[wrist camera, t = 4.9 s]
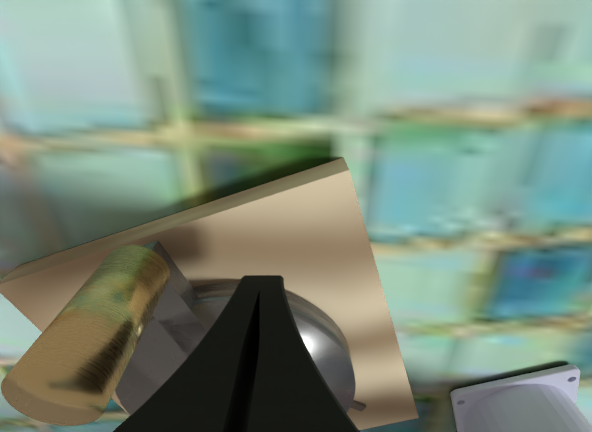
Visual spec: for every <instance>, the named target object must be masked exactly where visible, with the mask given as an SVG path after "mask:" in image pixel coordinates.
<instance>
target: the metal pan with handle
mask: <svg viewBox="0 0 592 432" xmlns="http://www.w3.org/2000/svg"><path fill="white" fill-rule="evenodd" d="M238 284H239V283H215V284H209V285H202V286H197V287H193V288H192V286H191V285H190V284H189V282H188V281H187V279H186V278H185V277H184V275H183V274H182V272H181V271H180V270H179V268H178V267H177V265H176V264H175V263H174V261H173V260H172V258H171V257H170V256H169V254H168V253H167V252H166V250H165V249H164V247H163V246H162V245H161V243H160V242H159V240H157V241H154V242H151V243H148V244H146V245H143V246H138V245H124V246H120V247H118V248H115V249H114V250H112V251H111V252H110V253H109V254H108V256H107V257H106V258H105V259H104V260H103V262H102V263H101V264H100V265H99V266H98V268H97V269H96V270H95V271H94V272H93V273H92V275H91V276H90V277H89V278H88V279H87V281H86V282H85V283H84V284H83V285H82V286H81V288H80V289H79V290H78V291H77V292H76V294H75V295H74V296H73V297H72V298H71V300H70V301H69V302H68V303H67V304H66V305H65V307H64V308H63V309H62V310H61V311H60V313H59V314H58V315H57V316H56V317H55V319H54V320H53V321H52V322H51V323H50V324H49V326H48V327H47V328H46V329H45V330H44V332H43V333H42V334H41V335H40V336H39V337H38V339H37V340H36V341H35V342H34V343H33V345H32V346H31V347H30V348H29V349H28V351H27V352H26V353H25V354H24V355H23V356H22V358H21V359H20V360H19V361H18V362H17V364H16V365H15V366H14V367H13V368H12V369H11V371H10V372H9V373H8V374H7V375H6V377H5V378H4V379H3V381H2V383H1V391H2V394H3V396H4V398H5V399H6V400H7V402H8V403H9V404H10V405H11V406H12V407H14V408H15V409H16V410H18V411H19V412H21V413H23V414H25V415H26V416H29V417H31V418H33V419H36V420H39V421H42V422H46V423H50V424H56V425H67V426H72V425H82V424H87V423H90V422H92V421H95V420H96V419H98V418H99V417H100V416H101V415H102V414H103V413H104V411H105V409H106V407H107V405H108V403H109V401H110V399H111V397H112V395H113V393H114V391H115V392H116V395H117V397H118V399H119V401H120V403H121V405H122V406H123V407H124V409H125V410H126V411H127V413H128V414H129V415H130V416H131V415H132V414H133V413H134V412H135V411H136V410H137V409H138V408H139V407H141V406H142V405H143V404H144V403H145V402H146V401H147V400H148V399H149V398H150V397H151V396H152V395H153V394H154V393H155V392H156V391H157V390H158V389H159V388H160V387H161V386H162V385H163V384H164V383H165V382H166V381H167V380H168V379H169V377H170V376H171V375H172V374H173V373H174V372H175V371H176V370H177V369H178V368H179V367H180V365H181V364H182V363H183V362H184V361H185V360H186V359H187V357H188V356H189V355H190V354H191V353H192V351H193V350H194V349H195V348H196V347H197V345H198V344H199V343H200V341H201V340H202V339H203V337H204V336H205V335H206V333H207V332H208V331H209V329H210V328H211V327H212V325H213V324H214V323H215V321H216V320H217V318H218V317H219V315H220V314H221V312H222V311H223V309H224V308H225V306H226V305H227V303H228V301H229V300H230V298H231V296H232V295H233V293H234V291H235V289H236V288H237V286H238ZM285 292H286V291H285ZM286 296H287V300H288V303H289V306H290V309H291V312H292V315H293V317H294V320H295V323H296V325H297V328H298V330H299V332H300V335H301V337H302V339H303V341H304V343H305V345H306V347H307V349H308V351H309V353H310V355H311V357H312V359H313V361H314V363H315V364H316V366H317V368H318V370H319V371H320V373H321V375H322V377H323V378H324V380H325V381H326V383H327V385H328V386H329V388H330V390H331V391H332V393H333V394H334V396H335V397H336V398H337V400H338V401H339V403H340V404H341V406H342V407H343V409H344V410H345V412H346V413H347V412H348V411H349V409H350V407H351V405H352V403H353V399H354V396H355V387H356V382H355V375H354V370H353V365H352V360H351V355H350V350H349V346H348V343H347V340H346V338H345V336H344V334H343V333H342V331H341V329H340V328H339V327H338V325H337V324H336V323H335V322H334V321H333V319H331V318H330V317H329V316H328V315H327V314H326V313H325V312H324V311H322V310H321V309H320V308H318V307H317V306H315V305H314V304H312V303H311V302H309V301H307V300H305V299H303V298H301V297H299V296H297V295H294V294H291V293H289V292H286Z"/></svg>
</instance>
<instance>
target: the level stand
mask: <svg viewBox="0 0 592 432" xmlns="http://www.w3.org/2000/svg"><path fill="white" fill-rule="evenodd" d="M157 240H159V242H160V243H161V245H162V246H163V247H164V249H165V250H166V252H167V253H168V254H169V256H170V257H171V258H172V260H173V261H174V263H175V264H176V265H177V267H178V268H179V270H180V271H181V272H182V274H183V275H184V277H185V278H186V279H187V281H188V282H189V284H190V285H191V286H192V288H193V287H197V286H202V285H209V284H215V283H239V282H240V280H241V278H242V277H243V276H244V275H281V276H282V277H283V278H284V288H285V291H286V292H289V293H291V294H294V295H297V296H299V297H301V298H303V299H305V300H307V301H309V302H311V303H312V304H314V305H315V306H317V307H318V308H320V309H321V310H322V311H324V312H325V313H326V314H327V315H328V316H329V317H330V318H331V319H333V321H334V322H335V323H336V324H337V325H338V327H339V328H340V329H341V331H342V333H343V334H344V336H345V338H346V340H347V343H348V346H349V350H350V355H351V360H352V365H353V370H354V375H355V382H356V387H355V396H354V399H353V403H352V405H351V407H350V409H349V411H348V412H347V415H348V416H349V418H350V419H351V420H352V422H353V423H354V424H355V426H356V427H357V428H358V430H363V429H368V428H373V427H377V426H382V425H387V424H392V423H397V422H402V421H406V420H411V419H416V418H419V416H418V413H417V409H416V405H415V402H414V398H413V395H412V391H411V388H410V384H409V381H408V377H407V374H406V370H405V366H404V363H403V359H402V356H401V352H400V349H399V345H398V342H397V338H396V334H395V331H394V327H393V324H392V320H391V317H390V313H389V310H388V306H387V302H386V299H385V295H384V292H383V288H382V285H381V281H380V278H379V274H378V270H377V267H376V263H375V260H374V256H373V253H372V249H371V246H370V242H369V239H368V235H367V231H366V228H365V224H364V221H363V217H362V214H361V210H360V207H359V203H358V199H357V196H356V192H355V189H354V185H353V182H352V178H351V175H350V171H349V168H348V166H347V164H346V162H345V160H344V158H340V159H337V160H334V161H331V162H328V163H325V164H322V165H319V166H316V167H313V168H310V169H307V170H304V171H301V172H298V173H295V174H292V175H289V176H286V177H283V178H280V179H277V180H274V181H271V182H268V183H265V184H262V185H259V186H256V187H253V188H250V189H247V190H244V191H241V192H238V193H235V194H232V195H229V196H226V197H223V198H220V199H217V200H215V201H212V202H209V203H206V204H203V205H200V206H197V207H194V208H191V209H188V210H185V211H182V212H179V213H176V214H173V215H170V216H167V217H164V218H161V219H158V220H155V221H152V222H149V223H146V224H143V225H140V226H137V227H134V228H131V229H128V230H125V231H122V232H119V233H116V234H113V235H110V236H107V237H104V238H101V239H98V240H95V241H92V242H89V243H86V244H83V245H80V246H77V247H74V248H71V249H68V250H65V251H62V252H59V253H56V254H53V255H50V256H47V257H44V258H41V259H38V260H35V261H32V262H29V263H26V264H23V265H20V266H17V267H16V268H15V269H14V270H13V271H11V272H10V273H9V274H8V275H7V276H5V277H4V278H3V279H2V280H1V281H0V293H1V294H2V295H3V296H4V297H6V298H7V299H8V300H9V301H10V302H11V303H12V304H13V305H14V306H15V307H16V308H17V309H18V310H19V311H20V312H21V313H22V314H23V315H24V316H26V317H27V318H28V319H29V320H30V321H31V322H32V323H33V324H34V325H35V326H36V327H37V328H38V329H39V330H40V331H41V332H42V333H43V332H44V330H45V329H46V328H47V327H48V326H49V324H50V323H51V322H52V321H53V320H54V319H55V317H56V316H57V315H58V314H59V313H60V311H61V310H62V309H63V308H64V307H65V305H66V304H67V303H68V302H69V301H70V300H71V298H72V297H73V296H74V295H75V294H76V292H77V291H78V290H79V289H80V288H81V286H82V285H83V284H84V283H85V282H86V281H87V279H88V278H89V277H90V276H91V275H92V273H93V272H94V271H95V270H96V269H97V268H98V266H99V265H100V264H101V263H102V262H103V260H104V259H105V258H106V257H107V256H108V254H109V253H110V252H111V251H112V250H114V249H115V248H118V247H120V246H124V245H138V246H143V245H146V244H148V243H151V242H154V241H157ZM111 398H112V399H113V400H114V401H115V402H116V403H117V404H118V405H119V406H120V407H121V408H122V409H124V407H123V406H122V405H121V403H120V401H119V399H118V397H117V395H116V392H115V391H114V393H113V395H112V397H111ZM124 410H125V409H124ZM125 411H126V410H125ZM126 412H127V411H126Z"/></svg>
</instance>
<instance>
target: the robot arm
mask: <svg viewBox="0 0 592 432" xmlns="http://www.w3.org/2000/svg"><path fill="white" fill-rule="evenodd" d="M579 377H580V370H579V369H578V368H577V367H576V366H575V365H565V366H560V367H556V368H551V369H546V370H542V371H537V372H533V373H528V374H523V375H519V376H514V377H510V378H505V379H500V380H496V381H491V382H487V383H482V384H477V385H473V386H468V387H463V388H459V389H455V390H453V391H452V392H451V394H450V396H451V401H452V407H453V412H454V417H455V423H456V428H457V432H592V425H591V424H590V422H589V421H588V420H587V419H586V417H585V416H584V415H583V414H582V412H581V411H580V410H579V408H578V407H577V406H576V399H577V392H578V385H579ZM113 432H360V431H359V430H358V428H357V427H356V426H355V424H354V423H353V422H352V420H351V419H350V418H349V416H348V415H347V413H346V412H345V410H344V409H343V407H342V406H341V404H340V403H339V401H338V400H337V398H336V397H335V396H334V394H333V393H332V391H331V390H330V388H329V386H328V385H327V383H326V381H325V380H324V378H323V377H322V375H321V373H320V371H319V370H318V368H317V366H316V364H315V363H314V361H313V359H312V357H311V355H310V353H309V351H308V349H307V347H306V345H305V343H304V341H303V339H302V337H301V335H300V332H299V330H298V328H297V325H296V323H295V320H294V317H293V315H292V312H291V309H290V306H289V303H288V300H287V296H286V292H285V288H284V278H283V277H282V276H281V275H244V276H243V277H242V278H241V280H240V282H239V284H238V286H237V288H236V289H235V291H234V293H233V295H232V296H231V298H230V300H229V301H228V303H227V305H226V306H225V308H224V309H223V311H222V312H221V314H220V315H219V317H218V318H217V320H216V321H215V323H214V324H213V325H212V327H211V328H210V329H209V331H208V332H207V333H206V335H205V336H204V337H203V339H202V340H201V341H200V343H199V344H198V345H197V347H196V348H195V349H194V350H193V351H192V353H191V354H190V355H189V356H188V357H187V359H186V360H185V361H184V362H183V363H182V364H181V365H180V367H179V368H178V369H177V370H176V371H175V372H174V373H173V374H172V375H171V376H170V377H169V379H168V380H167V381H166V382H165V383H164V384H163V385H162V386H161V387H160V388H159V389H158V390H157V391H156V392H155V393H154V394H153V395H152V396H151V397H150V398H149V399H148V400H147V401H146V402H145V403H144V404H143V405H142V406H141V407H139V408H138V409H137V410H136V411H135V412H134V413H133V414H132V415H131V416H130V417H128V418H127V419H126V420H125V421H124V422H123V423H122V424H121V425H120V426H119V427H117V428H116V429H115V430H114V431H113Z"/></svg>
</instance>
